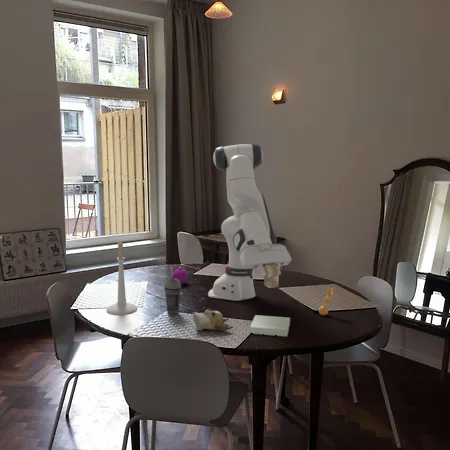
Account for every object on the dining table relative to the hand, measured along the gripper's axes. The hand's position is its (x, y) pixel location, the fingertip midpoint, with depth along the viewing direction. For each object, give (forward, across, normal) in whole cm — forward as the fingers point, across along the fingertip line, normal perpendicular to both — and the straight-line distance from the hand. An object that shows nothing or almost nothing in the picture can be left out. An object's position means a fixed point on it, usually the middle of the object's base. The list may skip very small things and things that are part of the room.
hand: (272, 275), depth 184 cm
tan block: (+3, 0, -4) cm, 4 cm away
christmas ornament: (-38, +12, -68) cm, 79 cm away
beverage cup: (-7, +30, -37) cm, 48 cm away
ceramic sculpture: (+9, +21, -22) cm, 32 cm away
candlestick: (-16, +49, -47) cm, 69 cm away
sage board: (+15, 0, -16) cm, 21 cm away
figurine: (+11, -29, -19) cm, 37 cm away
